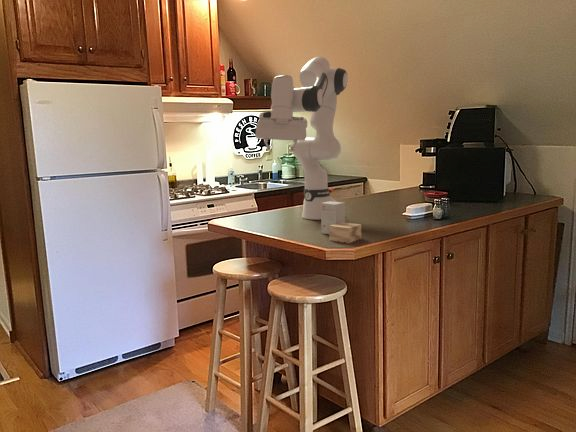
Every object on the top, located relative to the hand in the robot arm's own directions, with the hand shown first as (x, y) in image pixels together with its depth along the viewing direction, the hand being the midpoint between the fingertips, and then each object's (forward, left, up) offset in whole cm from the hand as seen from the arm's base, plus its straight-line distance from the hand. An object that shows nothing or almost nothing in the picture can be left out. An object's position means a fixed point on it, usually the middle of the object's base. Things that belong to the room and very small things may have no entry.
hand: (280, 151), depth 207 cm
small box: (-19, +12, -35) cm, 41 cm away
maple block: (-13, +23, -35) cm, 44 cm away
